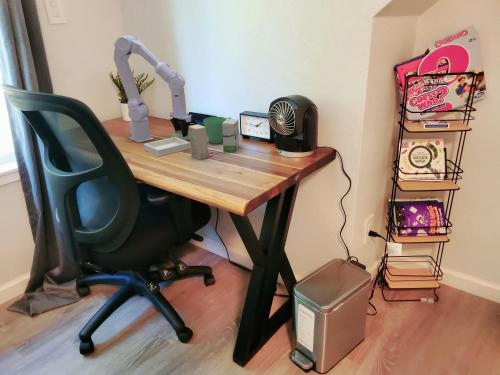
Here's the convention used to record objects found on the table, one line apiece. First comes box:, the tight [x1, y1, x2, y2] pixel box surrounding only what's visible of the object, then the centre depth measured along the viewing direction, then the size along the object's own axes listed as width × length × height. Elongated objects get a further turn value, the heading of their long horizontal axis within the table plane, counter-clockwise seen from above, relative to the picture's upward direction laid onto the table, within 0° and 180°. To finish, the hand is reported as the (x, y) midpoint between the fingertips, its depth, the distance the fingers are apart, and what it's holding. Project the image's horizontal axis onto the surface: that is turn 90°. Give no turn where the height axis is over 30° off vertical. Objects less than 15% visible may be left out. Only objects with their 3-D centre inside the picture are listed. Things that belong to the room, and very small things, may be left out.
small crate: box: [170, 130, 190, 141], centre depth 175 cm, size 5×8×4 cm, turn 131°
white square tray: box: [143, 137, 191, 157], centre depth 162 cm, size 12×15×2 cm
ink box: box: [222, 118, 240, 153], centre depth 158 cm, size 9×5×12 cm, turn 168°
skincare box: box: [189, 124, 209, 161], centre depth 150 cm, size 6×4×12 cm
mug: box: [203, 116, 233, 145], centre depth 170 cm, size 15×10×10 cm
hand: (181, 135), depth 175 cm, fingers closed on small crate, 5 cm apart
